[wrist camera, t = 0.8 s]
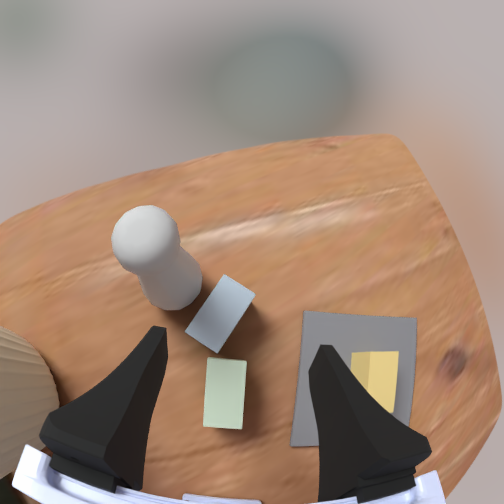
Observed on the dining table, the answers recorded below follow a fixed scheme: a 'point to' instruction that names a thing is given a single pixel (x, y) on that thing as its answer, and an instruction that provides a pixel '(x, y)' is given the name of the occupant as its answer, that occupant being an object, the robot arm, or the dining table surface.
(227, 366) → the green brick
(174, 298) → the salt shaker
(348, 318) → the felt mat
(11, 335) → the canister
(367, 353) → the mustard brick
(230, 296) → the slate brick
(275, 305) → the dining table surface
